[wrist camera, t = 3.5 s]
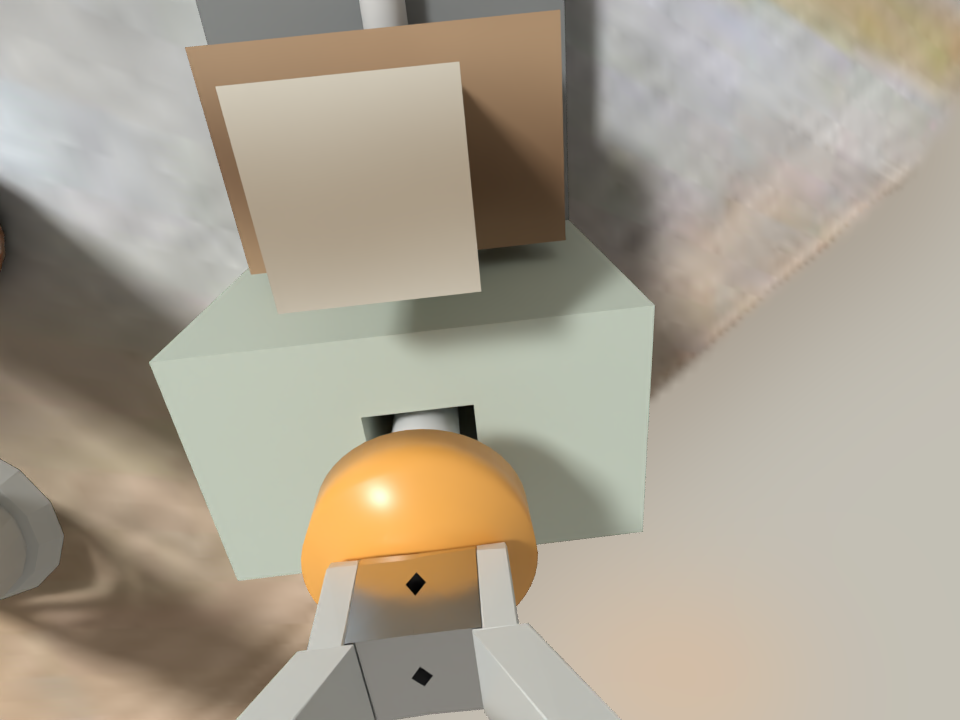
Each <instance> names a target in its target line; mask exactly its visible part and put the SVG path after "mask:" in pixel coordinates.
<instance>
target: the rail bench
mask: <svg viewBox="0 0 960 720" xmlns="http://www.w3.org/2000/svg"><path fill="white" fill-rule="evenodd" d="M196 4H197V7H198V11H199V14H200V18H201V22H202V25H203V29H204V33H205V36H206V40H207V44H208V45H214V44H224V43H234V42H244V41H254V40H264V39H274V38H284V37H294V36H303V35H313V34H323V33H333V32H343V31H353V30H363V29H373V28H383V27H393V26H403V25H413V24H422V23H432V22H442V21H452V20H462V19H472V18H482V17H492V16H502V15H512V14H522V13H532V12H541V11H551V10H560V15H561V59H562V103H563V147H564V191H565V236H566V240H563V241H554V242H545V243H536V244H527V245H518V246H508V247H499V248H490V249H481V250H477V251H478V261H479V272H480V282H481V292H473V293H464V294H455V295H446V296H437V297H428V298H419V299H410V300H401V301H392V302H383V303H374V304H365V305H356V306H347V307H338V308H329V309H320V310H311V311H302V312H293V313H284V314H278V312H277V308H276V304H275V301H274V297H273V294H272V290H271V286H270V283H269V279H268V275H267V273H262V274H253V275H251V273H250V270H249V268H248V269H247V270H246V271H245V272H244V273H243V274H242V275H241V276H240V277H239V278H238V279H237V280H236V281H235V282H233V283H232V284H231V285H230V286H229V287H228V288H227V289H226V290H225V291H224V292H223V293H222V294H221V295H220V296H219V297H218V298H217V299H215V300H214V301H213V302H212V303H211V304H210V305H209V306H208V307H207V308H206V309H205V310H204V311H203V312H202V313H201V314H200V315H199V316H197V317H196V318H195V319H194V320H193V321H192V322H191V323H190V324H189V325H188V326H187V327H186V328H185V329H184V330H183V331H182V332H181V333H179V334H178V335H177V336H176V337H175V338H174V339H173V340H172V341H171V342H170V343H169V344H168V345H167V346H166V347H165V348H164V349H163V350H161V351H160V352H159V353H158V354H157V355H156V356H155V357H154V358H153V359H152V360H151V361H150V362H149V364H150V366H151V369H152V371H153V373H154V376H155V378H156V381H157V383H158V386H159V388H160V391H161V393H162V396H163V398H164V400H165V403H166V405H167V408H168V410H169V413H170V415H171V418H172V420H173V423H174V425H175V428H176V430H177V432H178V435H179V437H180V440H181V442H182V445H183V447H184V450H185V452H186V455H187V457H188V459H189V462H190V464H191V467H192V469H193V472H194V474H195V477H196V479H197V482H198V484H199V487H200V489H201V491H202V494H203V496H204V499H205V501H206V504H207V506H208V509H209V511H210V514H211V516H212V518H213V521H214V523H215V526H216V528H217V531H218V533H219V536H220V538H221V541H222V543H223V545H224V548H225V550H226V553H227V555H228V558H229V560H230V563H231V565H232V568H233V570H234V573H235V575H236V577H237V580H238V581H241V580H249V579H257V578H266V577H274V576H282V575H290V574H299V573H302V570H301V554H302V546H303V543H304V540H305V536H306V533H307V529H308V526H309V523H310V519H311V516H312V513H313V509H314V506H315V502H316V499H317V496H318V493H319V490H320V487H321V485H322V483H323V481H324V479H325V477H326V475H327V474H328V473H329V471H330V470H331V469H332V467H333V466H334V465H335V464H336V463H337V462H338V461H339V460H340V459H341V458H342V457H343V456H344V455H346V454H347V453H348V452H350V451H351V450H352V449H354V448H356V447H357V446H359V445H361V444H363V443H364V442H366V441H369V440H371V439H374V438H376V437H378V436H382V435H385V434H389V433H392V426H393V419H394V414H397V413H405V412H414V411H423V410H431V409H440V408H448V407H457V406H458V413H459V428H460V434H461V435H464V436H467V437H470V438H472V439H475V440H477V441H479V442H481V443H483V444H485V445H486V446H488V447H490V448H492V449H493V450H494V451H496V452H497V453H498V454H500V455H501V456H502V457H503V458H504V459H505V460H506V461H507V462H508V463H509V464H510V465H511V467H512V468H513V469H514V471H515V472H516V473H517V475H518V477H519V479H520V481H521V482H522V485H523V488H524V491H525V494H526V498H527V502H528V507H529V512H530V516H531V521H532V525H533V530H534V535H535V539H536V545H537V544H546V543H554V542H562V541H570V540H579V539H586V538H595V537H602V536H612V535H620V534H628V533H636V532H643V516H644V497H645V478H646V459H647V440H648V422H649V404H650V386H651V367H652V348H653V330H654V311H655V305H654V304H653V303H652V302H651V301H650V300H649V299H648V298H647V297H646V296H645V295H644V294H643V293H642V292H641V291H640V290H639V289H638V288H637V287H636V286H635V285H634V284H633V283H632V282H631V281H630V280H629V279H628V278H627V277H626V276H625V275H624V274H623V273H622V272H621V271H620V270H619V269H618V268H617V267H616V266H615V265H614V264H613V263H612V262H611V261H610V260H609V259H608V258H607V257H606V256H605V255H604V254H603V253H602V252H601V251H600V250H599V249H598V248H597V247H596V246H595V245H594V244H593V243H592V242H591V241H590V240H589V239H588V238H587V237H586V236H585V235H583V234H582V233H581V232H580V231H579V230H578V229H577V228H576V227H575V226H574V225H573V224H572V223H571V222H570V221H569V208H568V157H567V107H566V56H565V5H564V0H196Z"/></svg>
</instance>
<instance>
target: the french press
mask: <svg viewBox="0 0 960 720" xmlns="http://www.w3.org/2000/svg"><path fill="white" fill-rule="evenodd" d="M63 539H64V534H63V532H62V529H61V527H60V524H59V522H58V519H57V517H56V514H55V512H54V509H53V507H52V504H51V502H50V501H49V500H48V499H47V498H46V497H45V496H44V495H43V494H42V493H41V492H40V491H39V490H38V489H37V488H36V487H35V486H34V485H33V484H32V483H31V482H30V480H29V479H28V478H27V477H26V476H25V475H24V474H23V473H22V472H21V471H20V470H18V469H17V468H15V467H13V466H11V465H10V464H8V463H6V462H4V461H3V460H1V459H0V600H1V599H4V598H7V597H10V596H13V595H15V594H18V593H21V592H24V591H27V590H29V589H32V588H35V587H38V586H39V585H40V584H41V583H42V582H43V581H44V580H45V579H46V577H47V576H48V575H49V574H50V573H51V572H52V571H53V570H54V569H55V568H56V567H57V566H58V565H59V562H60V556H61V550H62V544H63Z"/></svg>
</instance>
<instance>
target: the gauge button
mask: <svg viewBox="0 0 960 720" xmlns="http://www.w3.org/2000/svg"><path fill="white" fill-rule="evenodd" d="M501 542H505V543H506V545H507V549H508V555H509V562H510V568H511V575H512V582H513V588H514V595H515V601H516V606H517V605H518V604H519V603H520V601H521V600H522V599H523V598H524V596H525V595H526V593H527V592H528V590H529V588H530V586H531V584H532V581H533V579H534V576H535V573H536V568H537V559H538V552H537V546H536V539H535V535H534V530H533V525H532V521H531V516H530V512H529V507H528V502H527V498H526V494H525V491H524V488H523V485H522V482H521V481H520V479H519V477H518V475H517V473H516V472H515V471H514V469H513V468H512V467H511V465H510V464H509V463H508V462H507V461H506V460H505V459H504V458H503V457H502V456H501V455H500V454H498V453H497V452H496V451H494V450H493V449H492V448H490V447H488V446H486V445H485V444H483V443H481V442H479V441H477V440H475V439H472V438H470V437H467V436H464V435H461V434H460V428H459V413H458V406H457V407H448V408H440V409H431V410H423V411H414V412H405V413H397V414H394V419H393V426H392V433H389V434H385V435H382V436H378V437H376V438H374V439H371V440H369V441H366V442H364V443H363V444H361V445H359V446H357V447H356V448H354V449H352V450H351V451H350V452H348V453H347V454H346V455H344V456H343V457H342V458H341V459H340V460H339V461H338V462H337V463H336V464H335V465H334V466H333V467H332V469H331V470H330V471H329V473H328V474H327V475H326V477H325V479H324V481H323V483H322V485H321V487H320V490H319V493H318V496H317V499H316V502H315V506H314V509H313V513H312V516H311V519H310V523H309V526H308V529H307V533H306V536H305V540H304V543H303V546H302V554H301V570H302V574H303V578H304V582H305V584H306V586H307V589H308V591H309V593H310V594H311V596H312V598H313V599H314V601H315V602H316V603H317V604H318V602H319V598H320V594H321V589H322V585H323V581H324V577H325V573H326V570H327V568H328V567H329V565H330V564H331V563H333V562H344V561H355V560H361V559H369V558H379V557H390V556H400V555H411V554H419V553H425V552H433V551H440V550H448V549H456V548H464V547H471V546H476V551H477V546H478V545H485V544H493V543H501Z"/></svg>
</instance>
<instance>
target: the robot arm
mask: <svg viewBox="0 0 960 720" xmlns="http://www.w3.org/2000/svg"><path fill="white" fill-rule="evenodd" d="M480 709H484V713H485V714H486V716H487V717H488V719H489V720H621V719H620V718H619V717H618V715H617V714H616V713H615V712H614V711H613V710H612V709H611V708H610V707H609V706H608V705H607V704H606V703H605V702H604V701H603V700H602V699H601V698H600V697H599V696H598V695H597V694H596V693H595V692H594V691H593V690H592V689H591V688H590V686H589V685H588V684H587V683H586V682H585V681H584V680H583V679H582V678H581V677H580V676H579V675H578V674H577V673H576V672H575V671H574V670H573V669H572V668H571V667H570V666H569V665H568V664H567V663H566V662H565V661H564V660H563V659H562V658H561V656H560V655H559V654H558V653H557V652H556V651H555V650H554V649H553V648H552V647H551V646H550V645H549V644H548V643H547V642H546V641H545V640H544V639H543V638H542V637H541V636H540V635H539V634H538V633H537V632H536V631H535V630H534V629H533V627H532V626H531V625H530V624H528V623H523V624H519V621H518V615H517V608H516V601H515V595H514V588H513V582H512V575H511V568H510V562H509V555H508V549H507V545H506V543H505V542H501V543H493V544H485V545H478V546H477V551H476V546H471V547H464V548H456V549H448V550H440V551H433V552H425V553H419V554H411V555H400V556H390V557H379V558H369V559H361V560H355V561H344V562H333V563H331V564H330V565H329V567H328V568H327V570H326V573H325V577H324V581H323V585H322V589H321V594H320V598H319V602H318V606H317V610H316V614H315V618H314V622H313V627H312V631H311V635H310V639H309V643H308V647H307V650H303V651H297V652H296V653H295V655H294V656H293V657H292V658H291V659H290V660H289V661H288V662H287V663H286V665H285V666H284V667H283V668H282V669H281V670H280V671H279V672H278V673H277V675H276V676H275V677H274V678H273V679H272V680H271V681H270V682H269V683H268V684H267V686H266V687H265V688H264V689H263V690H262V691H261V692H260V693H259V694H258V696H257V697H256V698H255V699H254V700H253V701H252V702H251V703H250V704H249V706H248V707H247V708H246V709H245V710H244V711H243V712H242V713H241V714H240V716H239V717H238V718H237V719H236V720H397V719H403V718H410V717H416V716H422V715H429V714H438V713H448V712H459V711H470V710H480Z"/></svg>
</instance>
